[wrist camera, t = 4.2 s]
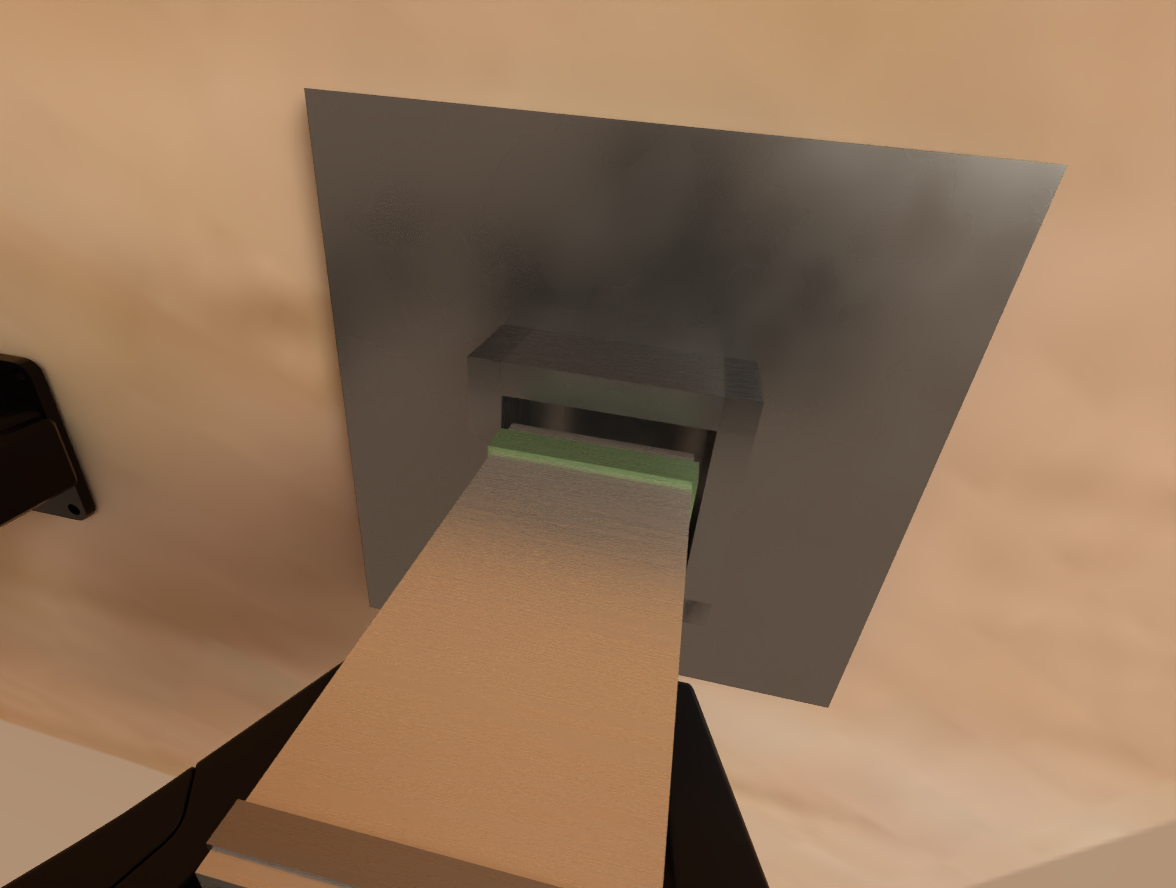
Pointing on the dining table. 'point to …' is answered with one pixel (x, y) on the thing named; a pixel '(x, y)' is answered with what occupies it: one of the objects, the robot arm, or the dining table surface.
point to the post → (497, 694)
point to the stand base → (669, 338)
